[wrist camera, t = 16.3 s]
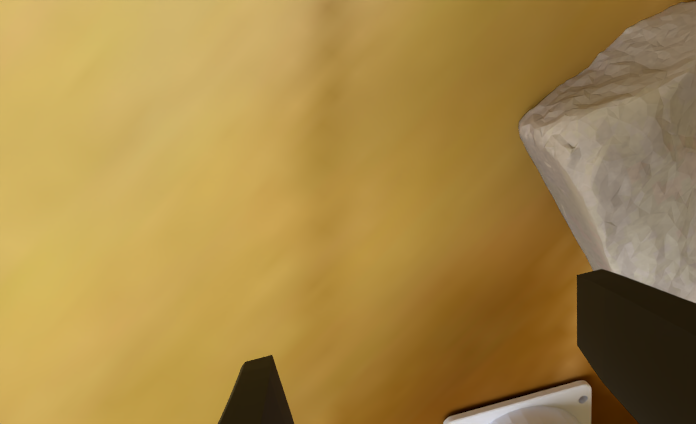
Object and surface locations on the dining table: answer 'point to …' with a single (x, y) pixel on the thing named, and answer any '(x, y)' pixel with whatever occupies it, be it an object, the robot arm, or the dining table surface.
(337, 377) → the dining table surface
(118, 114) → the dining table surface
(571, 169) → the stone block
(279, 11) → the dining table surface
